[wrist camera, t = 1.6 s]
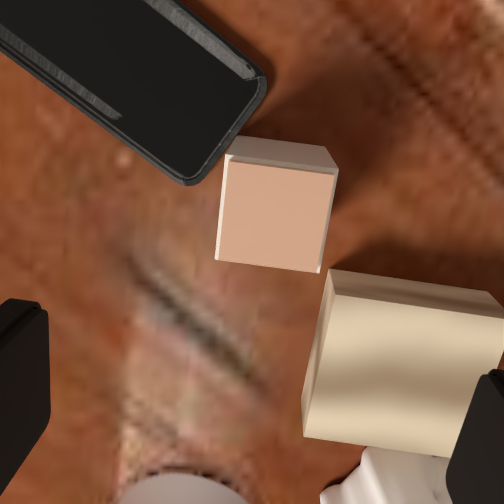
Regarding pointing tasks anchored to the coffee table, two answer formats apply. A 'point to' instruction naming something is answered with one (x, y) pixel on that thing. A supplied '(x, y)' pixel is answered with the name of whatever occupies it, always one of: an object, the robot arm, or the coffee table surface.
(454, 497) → the robot arm
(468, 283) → the coffee table surface
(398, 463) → the religious statue
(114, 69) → the phone
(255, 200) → the peach rectangular block
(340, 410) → the block
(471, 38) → the coffee table surface
